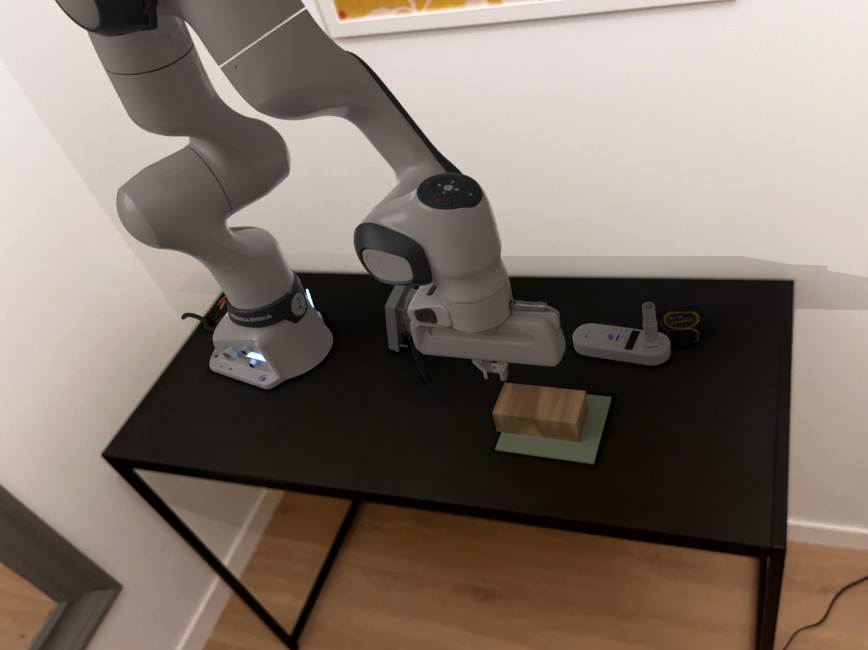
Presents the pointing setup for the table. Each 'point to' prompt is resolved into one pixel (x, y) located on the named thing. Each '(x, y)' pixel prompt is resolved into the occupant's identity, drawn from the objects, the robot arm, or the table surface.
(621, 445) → the table surface
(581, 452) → the mat
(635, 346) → the electronic device
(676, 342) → the tape measure
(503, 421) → the block
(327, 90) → the robot arm
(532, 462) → the table surface
